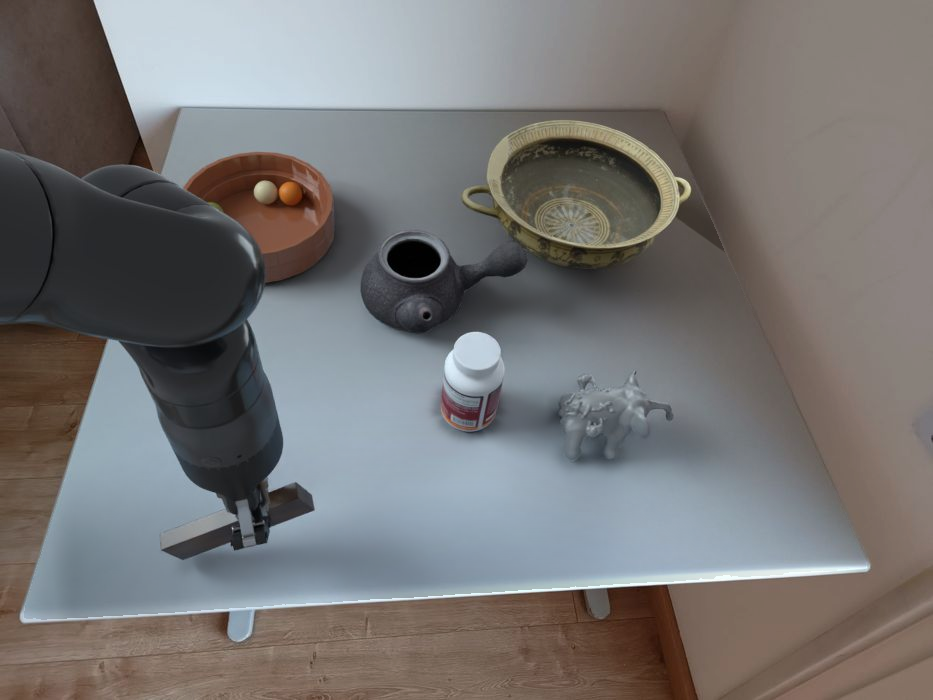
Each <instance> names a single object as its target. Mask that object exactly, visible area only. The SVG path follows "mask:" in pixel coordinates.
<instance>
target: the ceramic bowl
mask: <svg viewBox="0 0 933 700" xmlns="http://www.w3.org/2000/svg"><path fill="white" fill-rule="evenodd" d="M486 183H487V184H485V185H483V184H482V185H474V186H469V187H468V188H466V189H464V190H463V191H462V193H461V201H462V204H463V205H464V206H465V207H466V208H468V209H469V210H471V211H473V212H475V213H478V214H481V215H484V216H488V217H492V218H494V219H497V220H498V222H499V224H500V225H501V227H502V228H503V230H504V231H505V232H506V234H507V235H508V237H509V238H511V239H512V241H513V242H516V243H518V244H520V245H521V246H522V247H523V249H524V251H527V252H528V253H530V254H531V255H533V256H535V257H537V258H539V259H541V260H544V261H547V262H548V263H552V264H555V265H559V266H562V267H566V268H574V269H582V270H583V269H584V270H585V269H586V270H587V269H588V270H592V269H593V270H594V269H603V268H610V267H614V266H618V265H621V264H625V263H626V262H629V261H631V260H633V259H634V258H636V257H638V256H640V255H641V254H642V253H643V252H645V251H646V250H647V249H648V248H649V247H650V246H651V245H652V244H653V243H654V241H655V240H656V238H657V237H658V236H659V234H660V233H661V232H663V231H664V230H666V228H667V227H669V225H670V224H671V223H672V222H673V220H674V219H675V218H676V216H677V214H678V212H679V209H680V208H679V207H680V205H681V204H682V203H684V202H686V201H687V200H688V198H689V197H690V196H691V192H692V187H691V185H690V183H689V182H688V181H687V180H686V179H684V178H682V177H677V176H675V174H674V173H673V172H672V170H671V169H670V167H669V166H668V165H667V163H666V162H665V161H664V160H663V159H662V158H661V157H660V156H659V155H658V153H656V152H655V151H654V150H652V149H650V148H649V146H647V145H646V144H644V143H643V142H641V141H640V140H638V139H636V138H634V137H633V136H630V135H629V134H626V133H624V132H622V131H620V130H617V129H613V128H612V127H609V126H606V125H602V124H599V123H595V122H589V121H581V120H573V119H555V120H546V121H540V122H535V123H531V124H527V125H525V126H522V127H520V128H518V129H516V130H514V131H512V132H510V133H508V135H506V136H504V137H503V138H502V139H501V140H500V141H499V142H498V143H497V144H496V145H495V147H494V148H493V150H492V152H491V153H490V157H489V159H488V163H487V170H486ZM679 187H680V188H682V190H683V193H682V194H681V195H680V191H679ZM475 194H476V195H477V194H487V195H489V196H491V198H492V204H493V207H488V206H485V205H482V204H479V203H477V202H474V201H473V200H472V199H470V197H471V196H472V195H475Z"/></svg>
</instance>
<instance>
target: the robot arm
mask: <svg viewBox="0 0 933 700" xmlns="http://www.w3.org/2000/svg"><path fill="white" fill-rule="evenodd" d="M265 278H266V268H265V262H264V258H263V255H262V252H261V250H260V248H259V246H258V244H257V242H256V240H255V239H254V238H253V236H252V235H251V234H250V233H249V232H248V231H247V230H246V228H244V227H243V226H242V225H241V224H240V223H238V222H237V221H236V220H234V219H233V218H231V217H230V216H228V215H226V214H225V213H223V212H222V211H220V210H218V209H217V208H215V207H213V206H212V205H210V204H208V203H207V202H205V201H203V200H202V199H200V198H198V197H197V196H195V195H193V194H192V193H190V192H188V191H187V190H185V189H184V188H183V187H182V186H180V185H179V184H177V183H176V182H174V181H172V180H171V179H169V178H167V177H166V176H164V175H162V174H160V173H158V172H156V171H153V170H151V169H148V168H146V167H143V166H139V165H134V164H110V165H105V166H101V167H100V168H97V169H95V170H92V171H90V172H88V173H87V174H85V175H83V176H82V177H81V178H80V177H78V176H76V175H75V174H73V173H71V172H69V171H67V170H66V169H63V168H61V167H60V166H57V165H56V164H53V163H51V162H48V161H45V160H43V159H41V158H38V157H35V156H32V155H30V154H29V155H28V154H25V153H22V152H18V151H14V150H10V149H5V148H2V147H0V326H1V325H2V326H3V325H18V324H31V325H32V324H33V325H38V326H43V327H44V326H45V327H50V328H52V329H53V328H54V329H57V330H62V331H66V332H70V333H75V334H79V335H83V336H88V337H93V338H99V339H104V340H111V341H117V342H118V343H119V344H120V345H121V346H122V347H123V349H124V350H125V351H126V352H127V354H128V355H129V356H130V358H131V359H132V361H133V362H134V363H135V364H136V366H137V368H138V371H139V373H140V377H141V378H142V381H143V383H144V385H145V386H146V389H147V391H148V393H149V395H150V397H151V399H152V402H153V403H154V405H155V409H156V414H157V418H158V421H159V424H160V426H161V429H162V431H163V433H164V435H165V437H166V439H167V441H168V443H169V445H170V447H171V449H172V451H173V453H174V455H175V457H176V460H177V461H178V462H179V465H180V467H181V469H182V472H184V474H185V476H186V477H187V478H188V479H189V480H190V481H191V482H192V483H193V484H194V485H195V486H197V487H199V488H201V489H203V490H205V491H208V492H210V493H214V494H215V495H216V497H217V499H221V500H222V503H223V505H224V509H226V510H227V512H228V513H232V514H234V515H235V517H236V518H237V520H238V522H239V523H240V524H237V525H236V526H232V532H233V533H232V535H231V539H232V540H230V543H229V544H230V547H232V550H233V551H234V552H235V551H239V550H243V549H248V548H252V547H257V546H262V545H265V544H268V542H269V538H270V537H269V536H270V532H271V531H270V530H271V528H272V527H271V521H270V517H269V514H268V511H269V507H268V504H269V503H270V497H269V492H270V490H269V487H270V485H269V478H268V477H269V475H271V473H272V472H273V471H274V470H275V468H276V467H277V466H278V464H279V462H280V460H281V457H282V454H283V449H284V435H283V430H282V425H281V421H280V418H279V414H278V409H277V405H276V402H275V398H274V393H273V388H272V385H271V383H270V380H269V378H268V375H267V373H266V372H265V370H264V367H263V363H262V360H261V354H260V351H259V347H258V342H257V339H256V335H255V333H254V331H253V329H252V326H251V323H250V322H249V320H248V319H249V318H250V317H251V315H252V314H253V313H254V312H255V310H256V308H257V307H258V305H259V303H260V301H261V299H262V297H263V294H264V291H265V287H266V283H265Z"/></svg>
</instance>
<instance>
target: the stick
mask: <svg viewBox="0 0 933 700" xmlns="http://www.w3.org/2000/svg"><path fill="white" fill-rule="evenodd" d="M269 497H270V503H269V504H268V507H269V511H268V514H269V517H270V521H271V528H272V527H275V526H277V525H281V524H282V523H285V522H288V521H291V520H293V519H295V518H296V519H297V518H298V517H301V516H303V515H306V514H309V513H312V512H314V511H315V510H316V509H315V505H314V499H313V495H312V493H311V492H309V491H308V490H307V489H305V487H303V486H302V485H301V484H299V483H298V482H297V481H294V482H291V483H289V484H287V485H284V486H282V487H279V488H276V489H273V490H271V491H269ZM237 524H240V523H239V522H238V520H237V518H236V517H235V515H234V514H232V513H228V512H227V510H226V508H224V509H221V510H218V511H216V512H213V513H211V514H208V515H205V516H203V517H199V518H197V519H195V520H192V521H190V522H187V523H185V524H182V525H178V526H177V527H174V528H173V527H172V528H171V529H168V530H166V531H163V532H160V533H159V544H160V546H159V547H160V551H161V552H163V553H166V554H167V555H170V556H172V557H175V558H177V559H179V560H181V561H185V560H188V559H190V558H192V557H193V558H194V557H195V556H198V555H201V554H204V553H206V552H208V551H209V552H210V551H211V550H214V549H217V548H219V547H222V546H224V545H227V544H231V543H230V540H232V539H231V535H232V533H233V532H232V526H236V525H237Z"/></svg>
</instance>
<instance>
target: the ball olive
mask: <svg viewBox="0 0 933 700" xmlns="http://www.w3.org/2000/svg"><path fill="white" fill-rule="evenodd" d="M207 203H208V204H210V205H212V206H213V207H215V208H217V209H218V210H220V211H222V212H223V210H222V208H221V207H220V206H219V205H218V204H216V203H213V202H207Z"/></svg>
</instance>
